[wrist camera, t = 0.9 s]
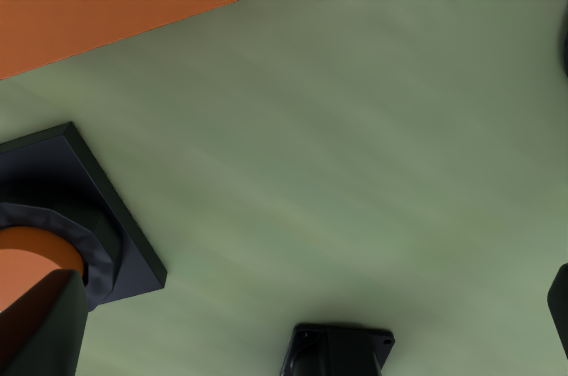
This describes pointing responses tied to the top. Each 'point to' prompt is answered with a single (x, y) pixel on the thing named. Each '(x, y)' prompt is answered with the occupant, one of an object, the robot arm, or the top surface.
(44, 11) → the lid
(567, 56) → the aerosol can
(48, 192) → the block
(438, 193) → the top surface
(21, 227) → the button
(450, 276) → the top surface
